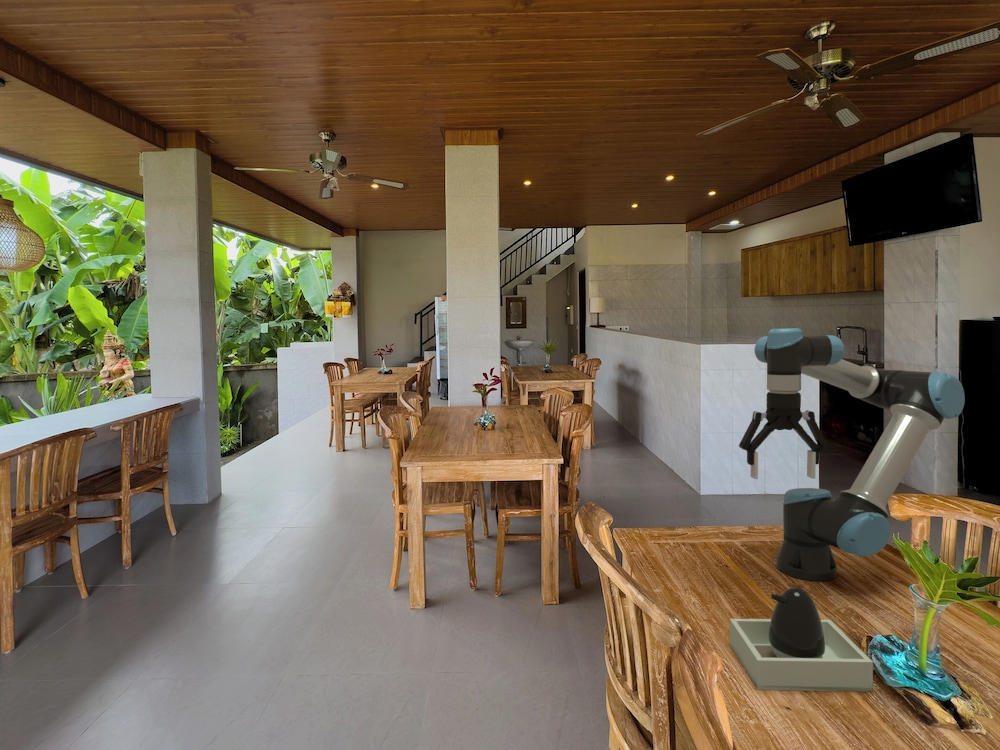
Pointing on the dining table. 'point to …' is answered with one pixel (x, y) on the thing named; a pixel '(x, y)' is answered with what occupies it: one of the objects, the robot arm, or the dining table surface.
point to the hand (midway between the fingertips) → (782, 477)
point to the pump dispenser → (796, 626)
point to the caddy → (801, 661)
